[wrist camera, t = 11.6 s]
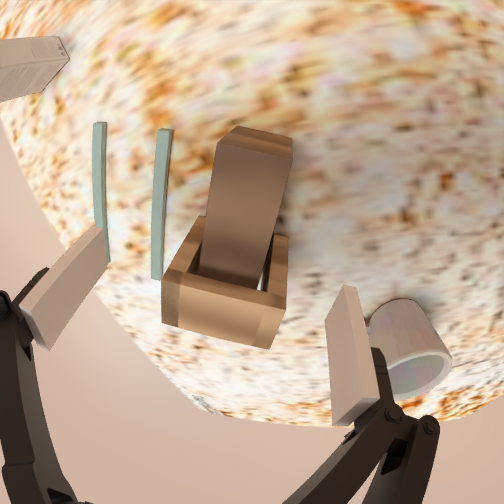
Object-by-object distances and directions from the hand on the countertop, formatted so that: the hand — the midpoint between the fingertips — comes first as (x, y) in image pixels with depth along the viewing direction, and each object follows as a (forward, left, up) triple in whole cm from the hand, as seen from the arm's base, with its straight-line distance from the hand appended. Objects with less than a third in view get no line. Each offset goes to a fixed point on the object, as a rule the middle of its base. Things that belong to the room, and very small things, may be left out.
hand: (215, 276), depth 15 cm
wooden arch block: (+7, 0, -15) cm, 17 cm away
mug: (+13, +20, -15) cm, 29 cm away
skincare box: (-11, -26, -15) cm, 32 cm away
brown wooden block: (+3, 0, -15) cm, 15 cm away
